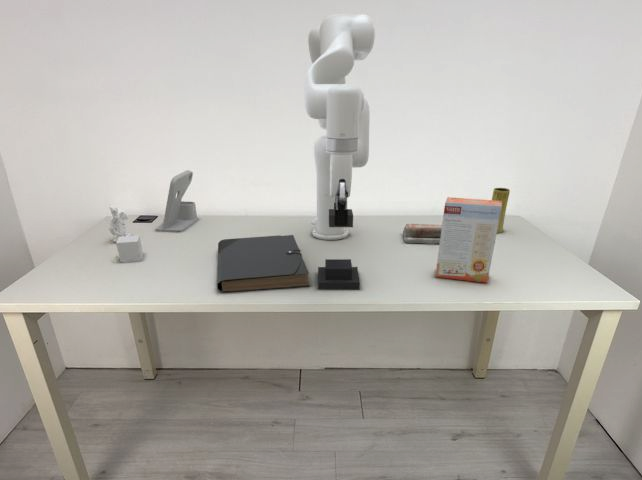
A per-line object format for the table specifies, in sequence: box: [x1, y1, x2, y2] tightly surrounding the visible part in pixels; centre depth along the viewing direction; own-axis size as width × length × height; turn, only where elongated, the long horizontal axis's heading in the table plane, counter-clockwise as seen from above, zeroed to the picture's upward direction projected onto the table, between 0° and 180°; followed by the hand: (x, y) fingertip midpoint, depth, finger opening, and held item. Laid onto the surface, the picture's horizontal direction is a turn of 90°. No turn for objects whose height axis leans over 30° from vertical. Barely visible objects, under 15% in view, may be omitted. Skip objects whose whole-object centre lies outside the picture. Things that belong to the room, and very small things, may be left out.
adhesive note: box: [115, 234, 144, 263], centre depth 142 cm, size 6×6×6 cm
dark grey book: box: [216, 234, 310, 294], centre depth 136 cm, size 33×4×24 cm
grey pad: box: [329, 208, 354, 228], centre depth 120 cm, size 6×6×3 cm
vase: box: [491, 187, 511, 234], centre depth 164 cm, size 6×6×14 cm
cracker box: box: [435, 196, 502, 284], centre depth 126 cm, size 14×6×21 cm, turn 71°
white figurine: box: [108, 205, 133, 243], centre depth 154 cm, size 8×7×12 cm
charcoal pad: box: [324, 258, 353, 279], centre depth 126 cm, size 7×7×3 cm
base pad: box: [317, 266, 361, 290], centre depth 128 cm, size 11×11×2 cm
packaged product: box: [402, 223, 442, 245], centre depth 158 cm, size 18×5×10 cm
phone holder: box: [155, 169, 199, 233], centre depth 168 cm, size 17×10×18 cm, turn 172°
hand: (340, 220), depth 120 cm, fingers closed on grey pad, 6 cm apart
